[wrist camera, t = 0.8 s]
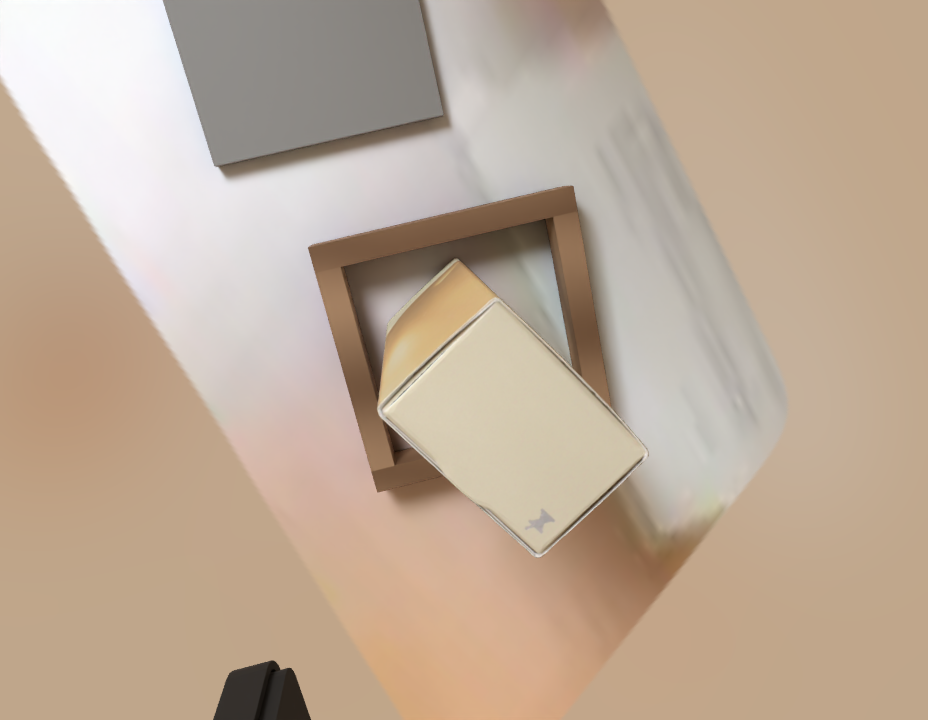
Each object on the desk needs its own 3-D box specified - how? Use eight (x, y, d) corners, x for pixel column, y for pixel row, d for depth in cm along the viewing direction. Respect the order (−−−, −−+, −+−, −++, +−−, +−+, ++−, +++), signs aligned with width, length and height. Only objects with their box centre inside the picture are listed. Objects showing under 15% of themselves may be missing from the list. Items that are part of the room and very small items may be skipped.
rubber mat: (137, -93, 23) (132, -99, 23) (386, -144, 24) (386, -150, 23) (217, 166, 26) (214, 166, 25) (442, 116, 26) (443, 114, 26)
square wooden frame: (312, 244, 27) (307, 247, 25) (563, 186, 27) (573, 185, 26) (377, 478, 30) (377, 492, 28) (604, 420, 30) (615, 431, 29)
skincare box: (552, 352, 29) (665, 461, 17) (482, 420, 29) (545, 572, 18) (450, 248, 27) (498, 289, 16) (377, 321, 28) (371, 414, 16)
